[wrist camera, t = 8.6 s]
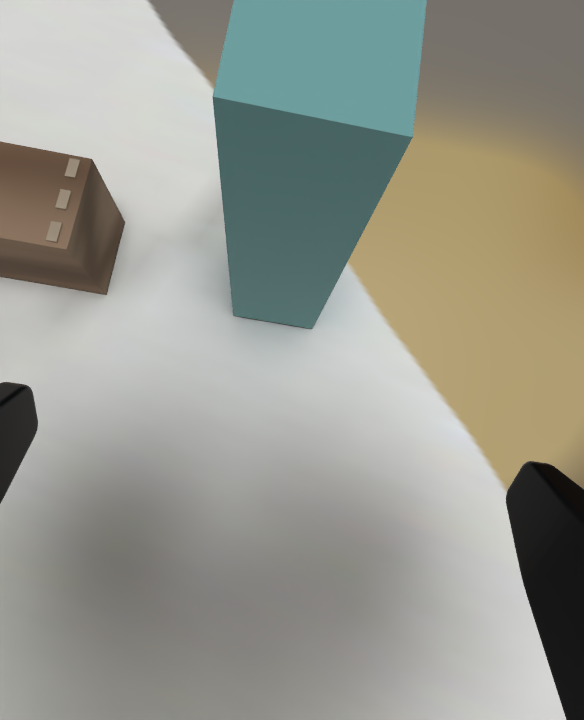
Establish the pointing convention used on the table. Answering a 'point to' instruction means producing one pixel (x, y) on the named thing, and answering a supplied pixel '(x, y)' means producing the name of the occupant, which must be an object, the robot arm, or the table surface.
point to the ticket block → (56, 220)
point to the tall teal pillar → (309, 140)
